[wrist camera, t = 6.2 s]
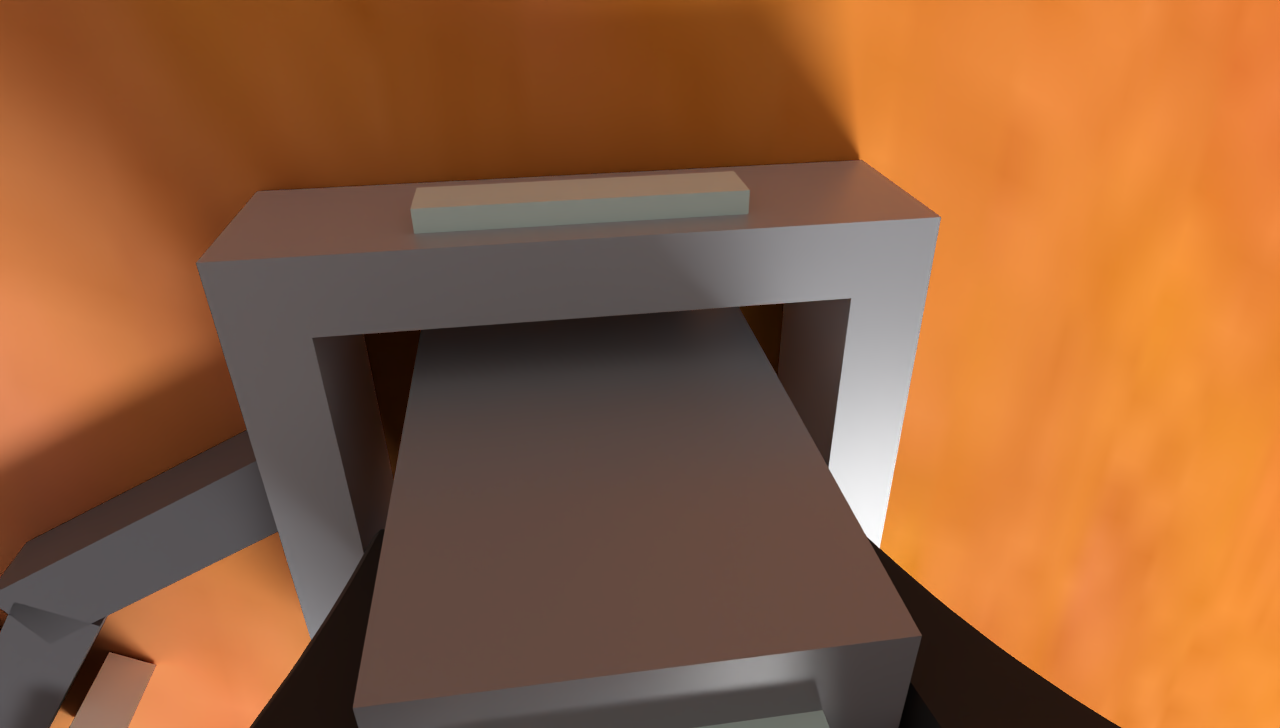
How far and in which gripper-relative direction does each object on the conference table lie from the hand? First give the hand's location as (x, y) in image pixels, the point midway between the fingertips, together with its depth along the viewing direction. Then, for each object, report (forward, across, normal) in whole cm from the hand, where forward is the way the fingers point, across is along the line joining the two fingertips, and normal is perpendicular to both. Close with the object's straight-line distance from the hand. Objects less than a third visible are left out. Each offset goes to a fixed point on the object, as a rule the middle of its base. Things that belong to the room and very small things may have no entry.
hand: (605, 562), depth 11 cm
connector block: (+2, 0, 0) cm, 2 cm away
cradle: (+3, 0, 0) cm, 3 cm away
